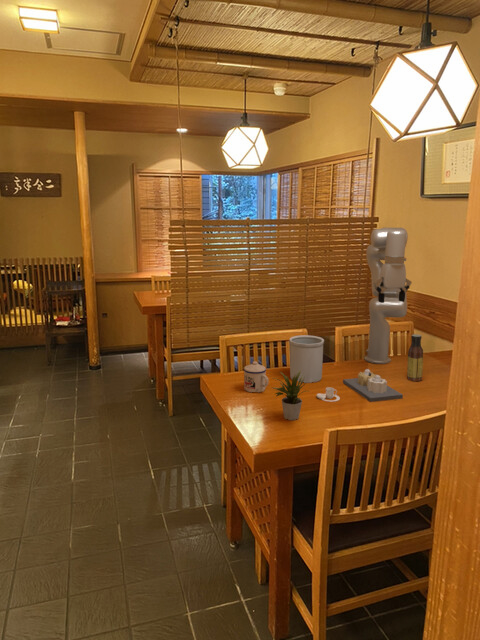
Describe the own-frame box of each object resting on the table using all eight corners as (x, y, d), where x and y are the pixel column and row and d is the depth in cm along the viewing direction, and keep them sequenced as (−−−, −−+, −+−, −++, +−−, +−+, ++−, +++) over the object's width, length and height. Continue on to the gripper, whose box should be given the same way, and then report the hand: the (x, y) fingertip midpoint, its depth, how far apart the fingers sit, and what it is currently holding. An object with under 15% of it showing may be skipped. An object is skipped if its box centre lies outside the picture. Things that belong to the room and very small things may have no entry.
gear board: (342, 382, 195) (343, 365, 193) (372, 379, 198) (373, 362, 197) (370, 401, 174) (371, 382, 172) (402, 398, 177) (404, 379, 176)
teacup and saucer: (315, 400, 176) (315, 390, 175) (319, 393, 183) (319, 383, 182) (337, 403, 173) (338, 393, 172) (341, 396, 180) (342, 386, 179)
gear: (363, 387, 185) (364, 378, 184) (379, 386, 186) (380, 376, 186) (373, 394, 178) (374, 384, 177) (390, 392, 180) (390, 382, 179)
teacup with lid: (238, 388, 187) (239, 361, 185) (254, 383, 193) (255, 357, 191) (259, 397, 178) (259, 368, 176) (275, 391, 184) (276, 363, 182)
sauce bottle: (419, 377, 202) (423, 333, 198) (423, 382, 196) (427, 337, 192) (404, 376, 202) (407, 333, 198) (407, 381, 196) (411, 336, 192)
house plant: (278, 405, 170) (279, 363, 167) (314, 411, 165) (316, 367, 162) (265, 420, 157) (266, 375, 154) (304, 427, 152) (306, 380, 149)
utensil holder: (299, 385, 191) (301, 345, 187) (282, 375, 204) (283, 337, 201) (329, 380, 197) (331, 341, 193) (310, 370, 210) (311, 333, 207)
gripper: (407, 259, 194) (403, 299, 197) (370, 260, 189) (368, 301, 193) (418, 261, 187) (414, 302, 190) (380, 262, 182) (378, 304, 186)
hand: (391, 301), depth 192 cm, fingers open, 9 cm apart
